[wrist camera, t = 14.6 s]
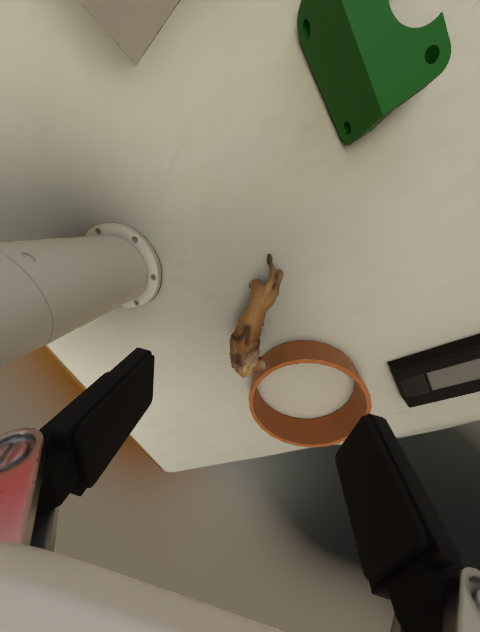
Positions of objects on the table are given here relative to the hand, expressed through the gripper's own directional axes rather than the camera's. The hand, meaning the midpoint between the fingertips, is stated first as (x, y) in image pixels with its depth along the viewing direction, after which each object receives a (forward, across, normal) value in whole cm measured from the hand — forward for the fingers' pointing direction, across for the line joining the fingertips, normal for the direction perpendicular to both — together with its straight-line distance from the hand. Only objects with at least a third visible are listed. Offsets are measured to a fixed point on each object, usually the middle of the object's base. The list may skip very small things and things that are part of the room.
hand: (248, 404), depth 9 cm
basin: (+22, -10, +16) cm, 29 cm away
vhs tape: (+22, -28, +5) cm, 36 cm away
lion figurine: (+22, 0, +4) cm, 23 cm away
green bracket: (+22, -2, -22) cm, 31 cm away
